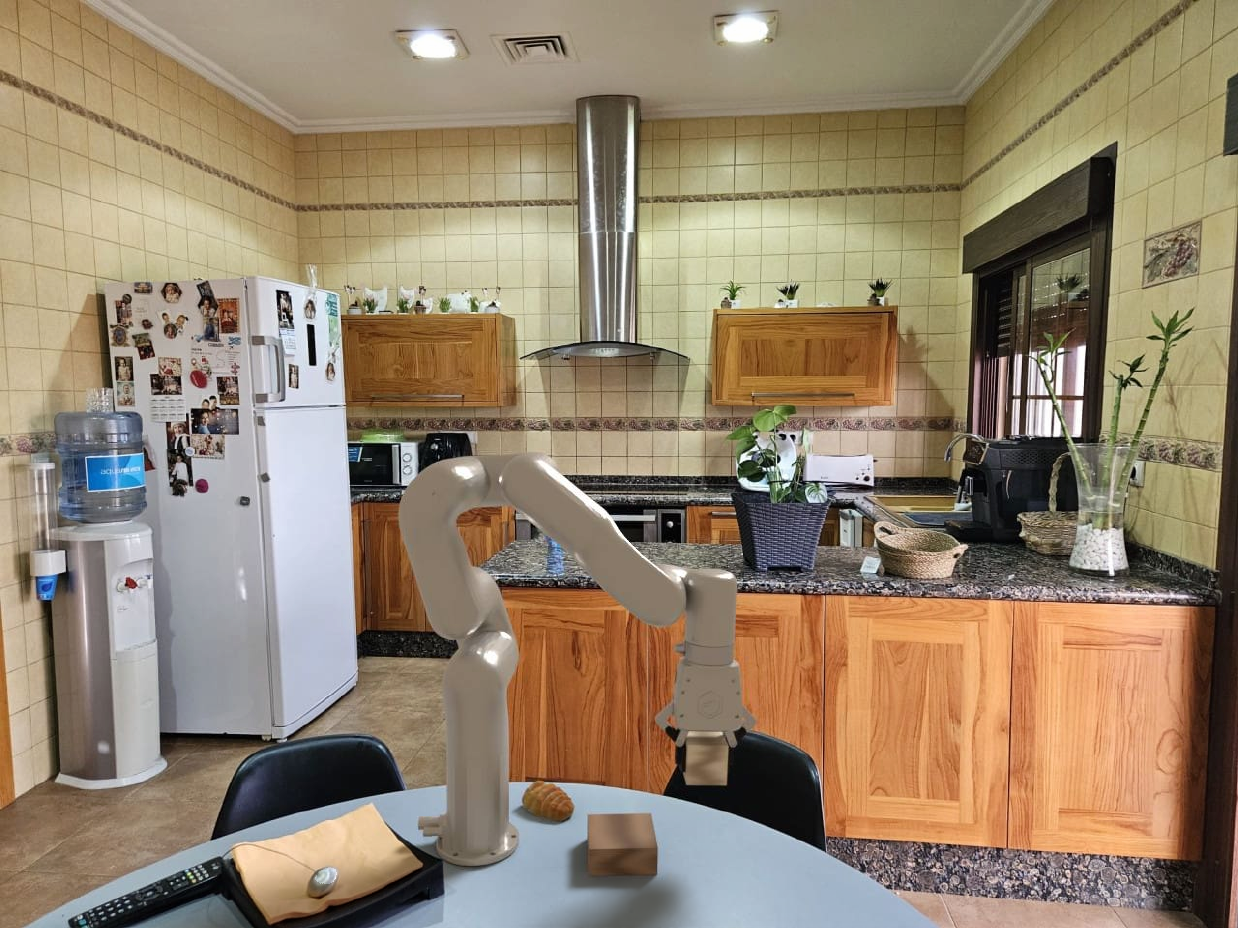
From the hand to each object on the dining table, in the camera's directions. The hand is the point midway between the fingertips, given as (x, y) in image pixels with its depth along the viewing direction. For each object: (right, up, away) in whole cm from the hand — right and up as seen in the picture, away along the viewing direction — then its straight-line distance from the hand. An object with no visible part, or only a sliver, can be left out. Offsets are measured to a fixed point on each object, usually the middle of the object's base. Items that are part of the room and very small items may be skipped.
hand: (703, 767), depth 120 cm
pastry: (-25, -13, +14) cm, 31 cm away
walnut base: (-13, -13, 0) cm, 18 cm away
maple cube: (0, -1, 0) cm, 1 cm away
